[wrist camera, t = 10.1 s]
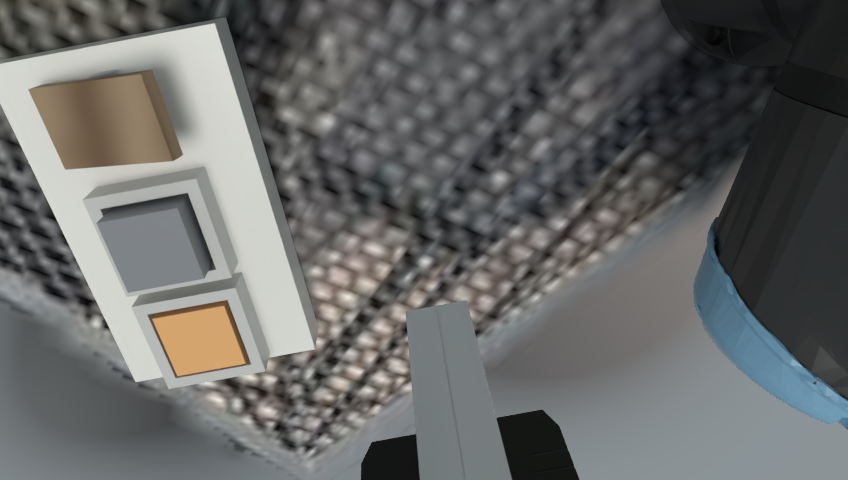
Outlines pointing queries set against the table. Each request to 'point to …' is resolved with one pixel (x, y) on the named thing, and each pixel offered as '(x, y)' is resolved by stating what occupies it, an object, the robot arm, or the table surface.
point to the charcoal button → (156, 243)
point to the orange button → (201, 337)
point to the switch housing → (191, 173)
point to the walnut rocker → (107, 120)
